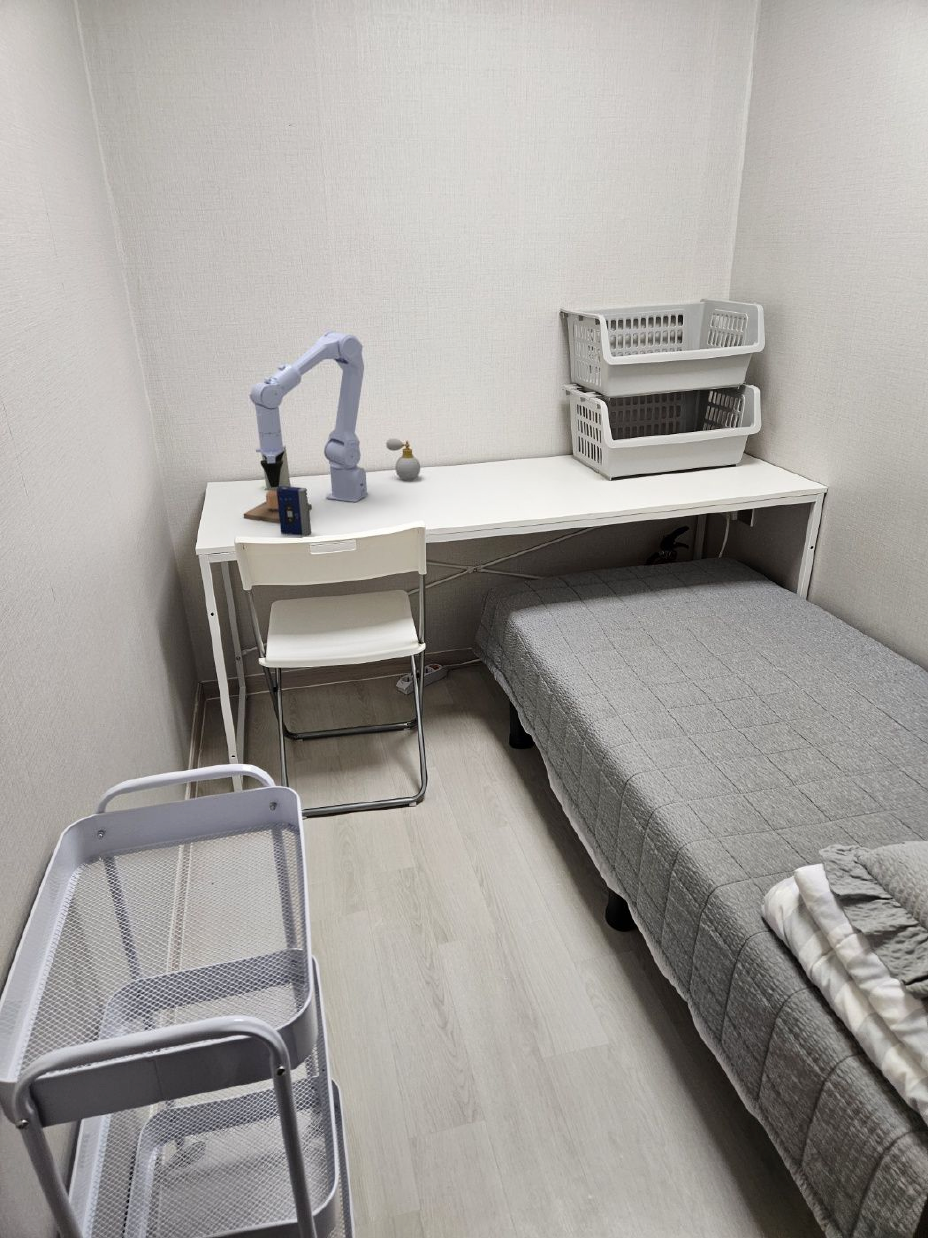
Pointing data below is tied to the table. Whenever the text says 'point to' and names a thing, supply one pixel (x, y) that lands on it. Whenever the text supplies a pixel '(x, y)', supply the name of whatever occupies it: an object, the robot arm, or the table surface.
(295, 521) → the cassette player
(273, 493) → the cap
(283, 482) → the skincare box
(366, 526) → the table surface
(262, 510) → the stud block
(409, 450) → the perfume bottle
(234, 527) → the table surface
